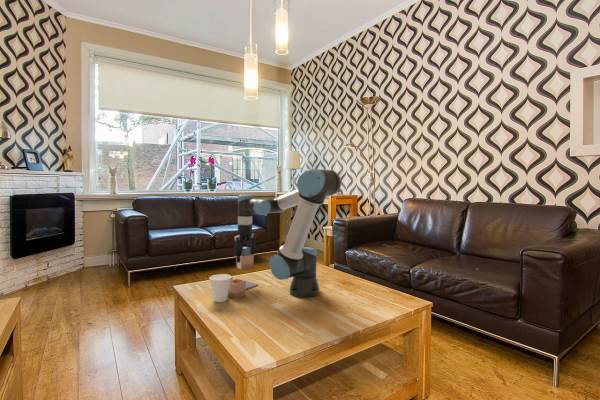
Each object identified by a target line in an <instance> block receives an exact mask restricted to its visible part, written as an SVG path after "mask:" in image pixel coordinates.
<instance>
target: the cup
mask: <svg viewBox="0 0 600 400" xmlns="http://www.w3.org/2000/svg"><path fill="white" fill-rule="evenodd" d="M231 277H232V276H231V275H230V274H226V273H223V274H222V273H220V274H213V275H211V276H209V280H210V287H211V291H212V299H213V301H214V302H215V303H224V302H226V301H227V300H228V298H229V296H228V291H229V285H230V279H231Z"/></svg>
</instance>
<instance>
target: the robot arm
mask: <svg viewBox="0 0 600 400" xmlns="http://www.w3.org/2000/svg"><path fill="white" fill-rule="evenodd" d="M296 182H297V183H296V186H297V189H294V190H291V191H290V192H287V193H285V194H283V195H280V196H278V197H275V198H267V199H266V198H264V199H263V198H262V199H261V198H260V199H257V198H256V199H255V198H253V195H252V194H239V195H238V196H237V232H238V234H237V235H236V236H233V241H234V242H233V251H232V253H233V254H232V255H233V256H235V258H236V257H237V268H236V269H240V270H243V269H242V256H241V253H242V249H243V247H244V244H246V247H249V248H250V254H254V255H255V253H256V251H257V248H256V237H257V235H256V234H255V233H253V214H254V215H259V216H261V215H264V216H265V215H268V214H276V213H277V214H278V213H284V212H285V211H286V210H288V209H291V208H293V207H296V206H297V207H296V210H295V213H294V215H293V219H292V221H291V224H290V227H289V229H288V233H287V235H286V239H285V242H284V244H283V245H281V246H279V249H278V251H277V254H274V255H273V256H271V258H270V260H269V269H270V272H271V274H272V275H273V276H274V278H276V279H277V280H280V281H284V280H288V279H290V278H292V279H291V283H290V285H289V294H290V296H294V297H297V298H312V296H313V297H316V296H318V295H320V286H319V282H318V279H317V257H318V256H317V255H318V254H317V249H316V248H314V247H309V246H304V245H305V244H306V240H307V238H308V235H309V233H310V230H311V227H312V225H313V221H314V219H315V216H316V213H317V211H318V209H319V207H320V206H321V205H323V204H324V202H325V199H326V198H327V197H331V196H334V195H336V194H337V193H338V192H339V191H340V190H341V186H342V179H341V177H340V175H339V174H338V172H336V171H334V170H332V169H331V170H330V169H320V168H319V169H318V168H310V169H309V168H308V169H305V170H303V171H302V172H301V173H300V175H299V176H298V179H297V181H296ZM317 294H318V295H317ZM315 295H316V296H315Z"/></svg>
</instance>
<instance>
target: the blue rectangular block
mask: <svg viewBox="0 0 600 400" xmlns="http://www.w3.org/2000/svg"><path fill="white" fill-rule="evenodd" d="M241 255H242V256H247V255H250V248H249V247H247V246H243V249H242V253H241Z"/></svg>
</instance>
